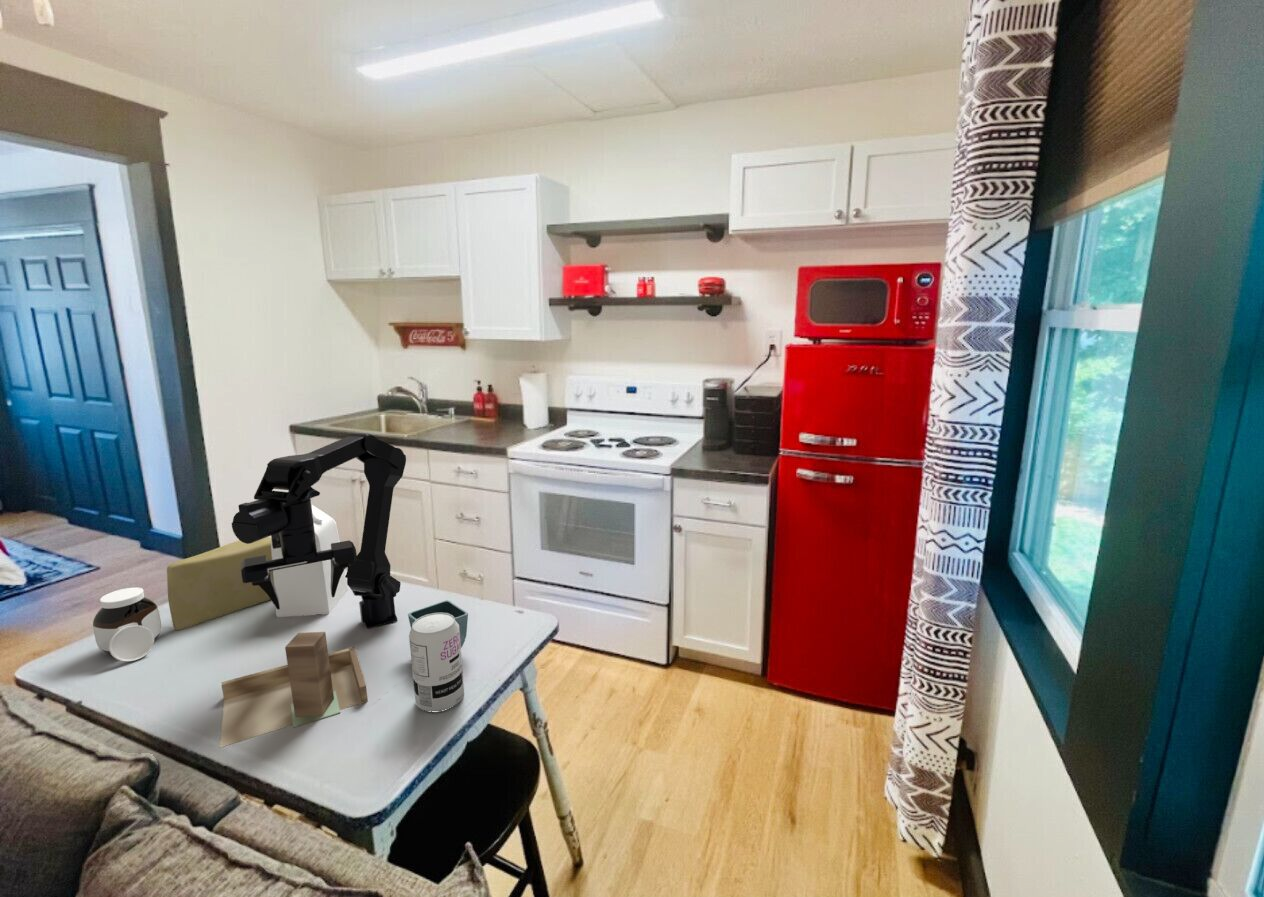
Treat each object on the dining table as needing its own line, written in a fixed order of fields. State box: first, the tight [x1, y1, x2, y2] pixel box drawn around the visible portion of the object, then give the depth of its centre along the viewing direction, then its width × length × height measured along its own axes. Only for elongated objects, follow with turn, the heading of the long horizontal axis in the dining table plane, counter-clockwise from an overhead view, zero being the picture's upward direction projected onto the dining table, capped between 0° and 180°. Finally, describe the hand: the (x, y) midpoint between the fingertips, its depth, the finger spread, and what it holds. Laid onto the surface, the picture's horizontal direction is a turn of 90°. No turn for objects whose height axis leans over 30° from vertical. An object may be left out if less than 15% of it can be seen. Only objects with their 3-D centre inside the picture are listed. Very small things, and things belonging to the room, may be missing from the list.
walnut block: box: [284, 631, 334, 717], centre depth 100 cm, size 4×4×13 cm
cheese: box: [166, 536, 274, 631], centre depth 137 cm, size 22×10×15 cm, turn 150°
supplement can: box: [408, 613, 465, 713], centre depth 103 cm, size 8×8×15 cm
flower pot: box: [407, 599, 469, 649], centre depth 118 cm, size 9×9×9 cm
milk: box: [271, 501, 349, 618], centre depth 138 cm, size 12×12×26 cm
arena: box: [219, 646, 369, 748], centre depth 104 cm, size 22×16×3 cm
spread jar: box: [92, 587, 162, 662], centre depth 120 cm, size 12×11×12 cm
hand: (306, 602), depth 113 cm, fingers open, 9 cm apart
